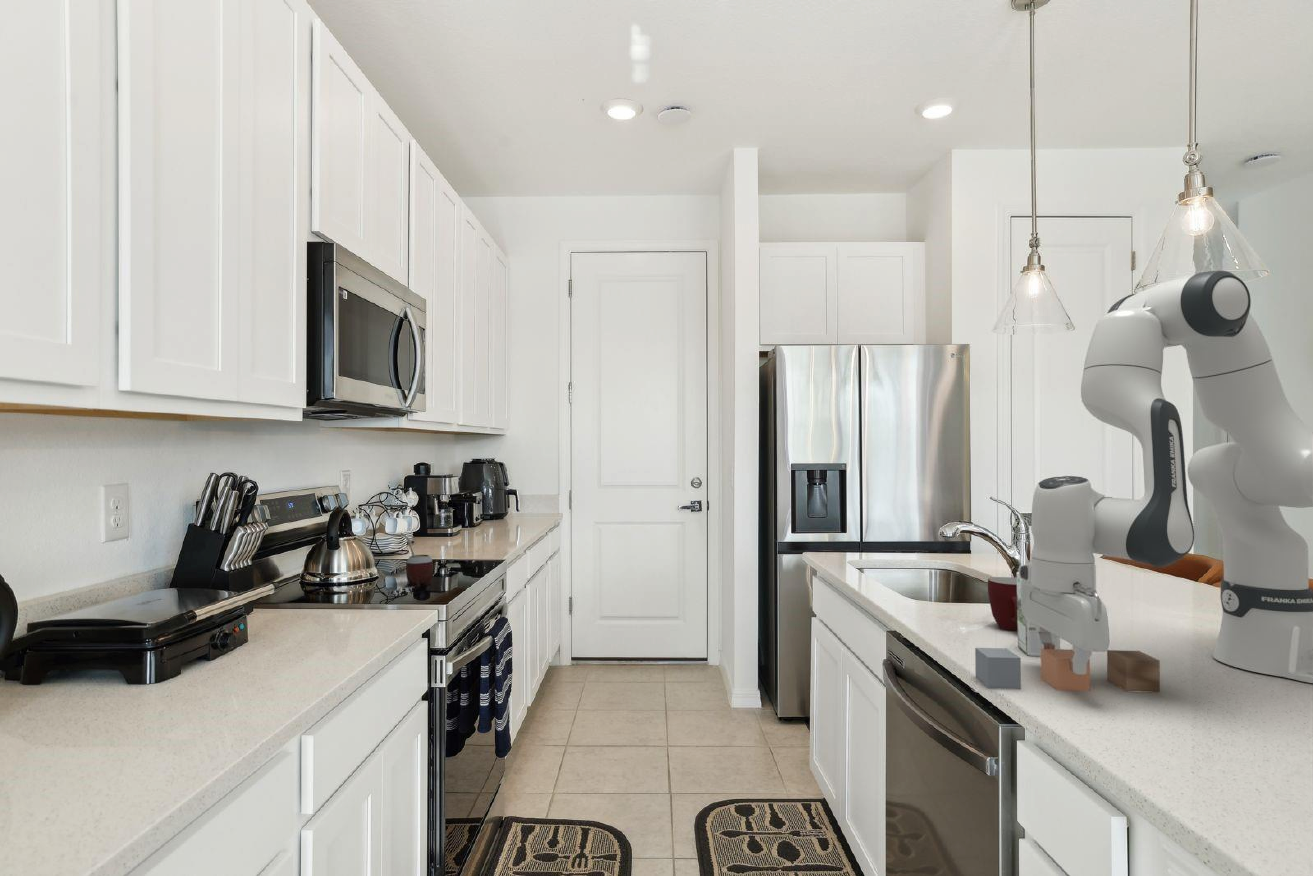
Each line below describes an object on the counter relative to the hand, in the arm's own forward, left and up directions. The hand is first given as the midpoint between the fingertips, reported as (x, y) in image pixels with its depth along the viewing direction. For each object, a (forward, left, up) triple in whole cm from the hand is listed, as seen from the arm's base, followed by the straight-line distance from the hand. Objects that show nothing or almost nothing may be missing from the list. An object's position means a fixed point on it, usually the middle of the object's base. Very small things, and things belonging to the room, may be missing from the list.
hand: (1061, 663), depth 109 cm
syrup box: (-4, -17, -4) cm, 18 cm away
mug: (-6, -32, -4) cm, 33 cm away
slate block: (+10, 0, -4) cm, 11 cm away
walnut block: (-11, 0, -4) cm, 11 cm away
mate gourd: (+136, -67, -4) cm, 151 cm away
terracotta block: (0, 0, -4) cm, 4 cm away
